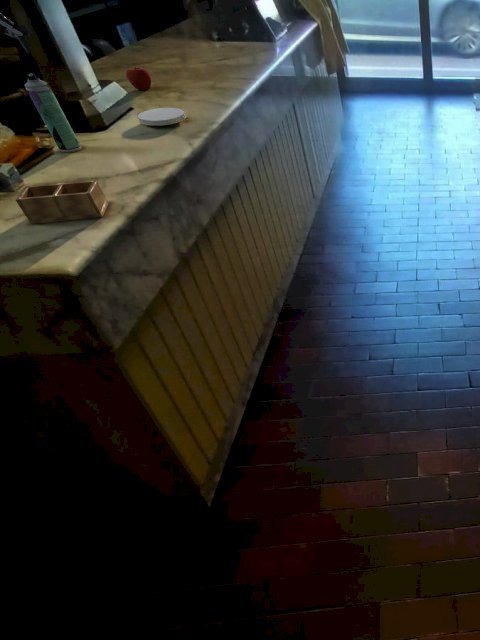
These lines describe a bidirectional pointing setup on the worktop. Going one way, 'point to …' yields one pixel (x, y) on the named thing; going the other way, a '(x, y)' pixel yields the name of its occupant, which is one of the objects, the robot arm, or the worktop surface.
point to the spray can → (52, 114)
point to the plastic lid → (162, 116)
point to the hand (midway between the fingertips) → (11, 53)
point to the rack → (62, 201)
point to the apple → (139, 78)
